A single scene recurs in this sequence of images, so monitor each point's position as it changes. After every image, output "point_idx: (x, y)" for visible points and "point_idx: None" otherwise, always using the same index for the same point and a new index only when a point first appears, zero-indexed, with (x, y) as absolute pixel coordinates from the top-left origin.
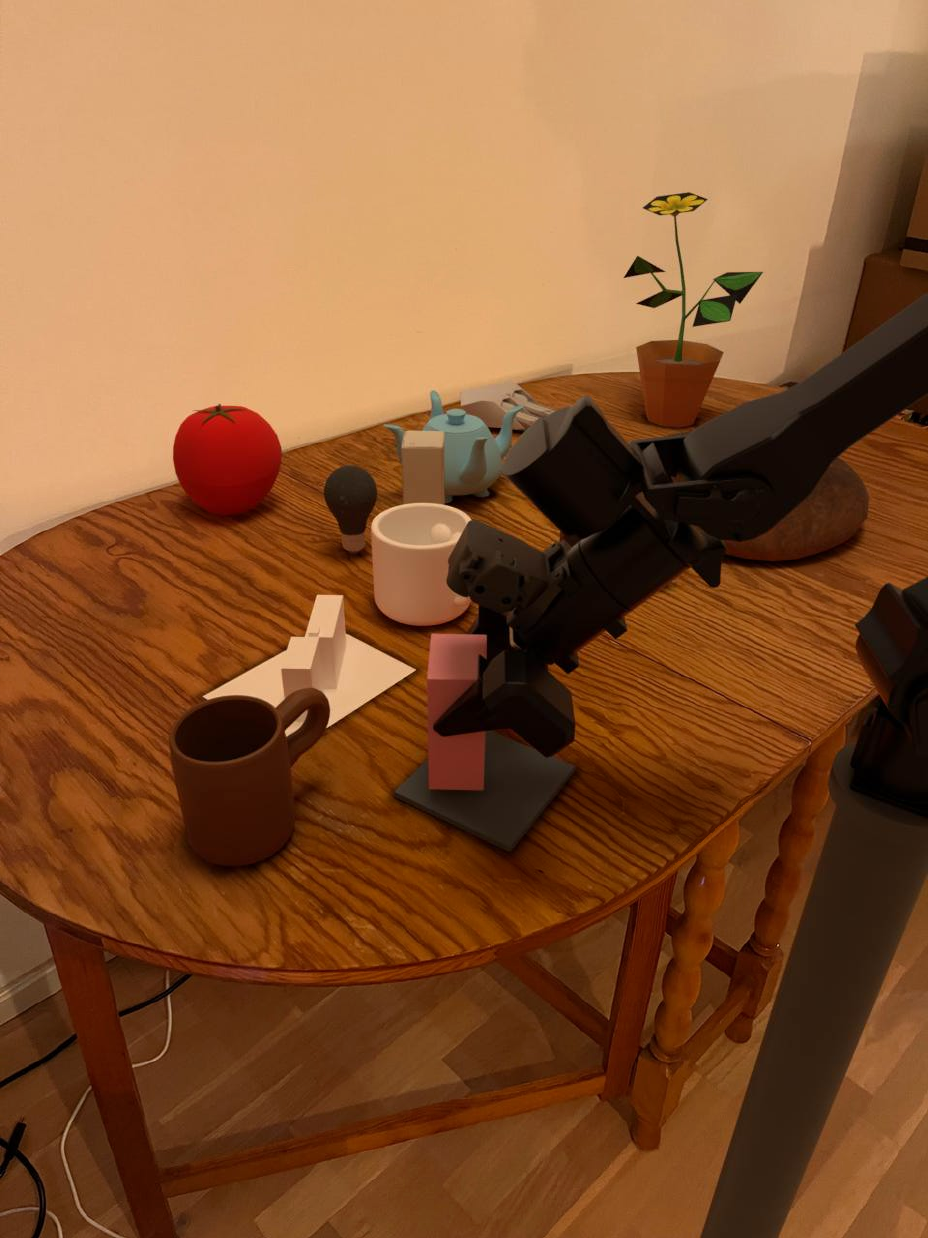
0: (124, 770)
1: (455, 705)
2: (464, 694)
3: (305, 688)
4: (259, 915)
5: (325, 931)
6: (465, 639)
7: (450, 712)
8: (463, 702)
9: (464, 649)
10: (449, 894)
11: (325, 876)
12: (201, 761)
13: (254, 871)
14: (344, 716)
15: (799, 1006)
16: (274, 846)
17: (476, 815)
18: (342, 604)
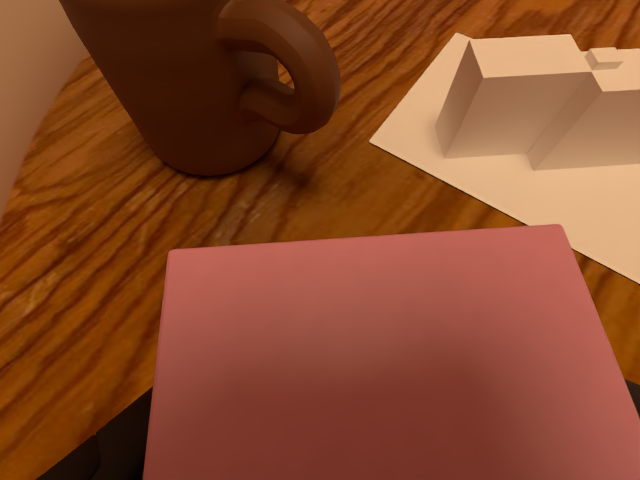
0: (311, 6)
1: (146, 410)
2: (118, 461)
3: (304, 19)
4: (78, 174)
5: (35, 251)
6: (578, 422)
7: (150, 390)
8: (61, 461)
9: (468, 427)
10: (68, 425)
11: (131, 232)
12: None
13: (149, 153)
14: (468, 193)
15: None
16: (160, 156)
17: None
18: None
